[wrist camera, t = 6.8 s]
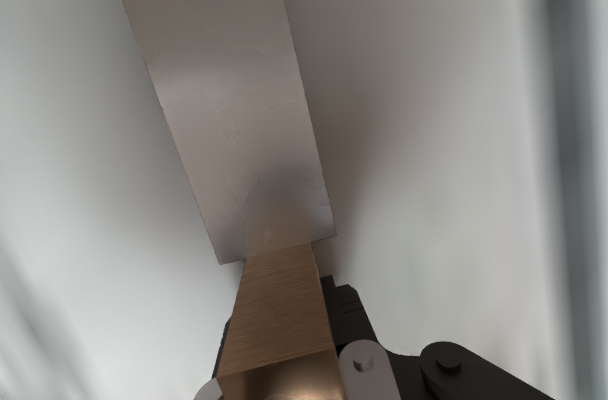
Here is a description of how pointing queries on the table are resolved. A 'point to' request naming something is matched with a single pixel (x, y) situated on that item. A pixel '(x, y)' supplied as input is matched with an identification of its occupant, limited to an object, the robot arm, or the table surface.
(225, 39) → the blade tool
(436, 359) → the robot arm
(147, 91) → the table surface
